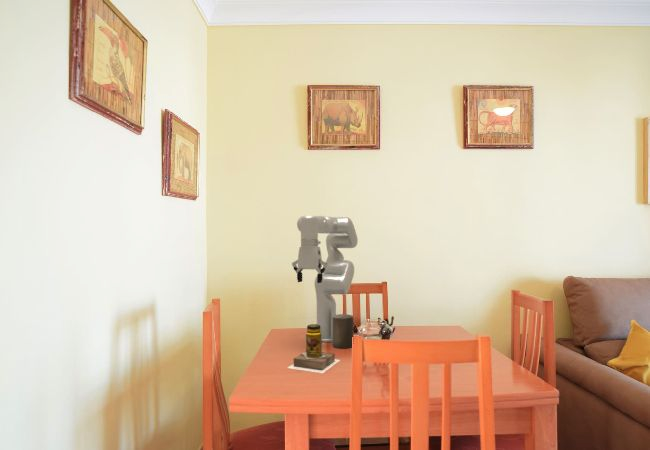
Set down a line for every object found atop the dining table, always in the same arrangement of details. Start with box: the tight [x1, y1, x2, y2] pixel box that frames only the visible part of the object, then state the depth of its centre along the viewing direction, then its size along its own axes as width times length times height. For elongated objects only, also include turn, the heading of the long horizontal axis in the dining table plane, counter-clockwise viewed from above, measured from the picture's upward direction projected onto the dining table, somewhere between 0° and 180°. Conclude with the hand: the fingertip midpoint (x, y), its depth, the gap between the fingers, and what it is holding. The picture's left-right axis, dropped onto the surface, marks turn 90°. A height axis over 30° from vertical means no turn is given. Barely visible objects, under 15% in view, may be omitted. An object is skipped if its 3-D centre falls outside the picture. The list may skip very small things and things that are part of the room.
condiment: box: [301, 323, 326, 359], centre depth 161 cm, size 7×8×12 cm
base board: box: [287, 358, 341, 374], centre depth 159 cm, size 17×15×1 cm
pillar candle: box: [332, 313, 354, 349], centre depth 188 cm, size 10×10×15 cm
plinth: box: [293, 351, 336, 370], centre depth 160 cm, size 12×12×3 cm
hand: (309, 282), depth 180 cm, fingers open, 9 cm apart
